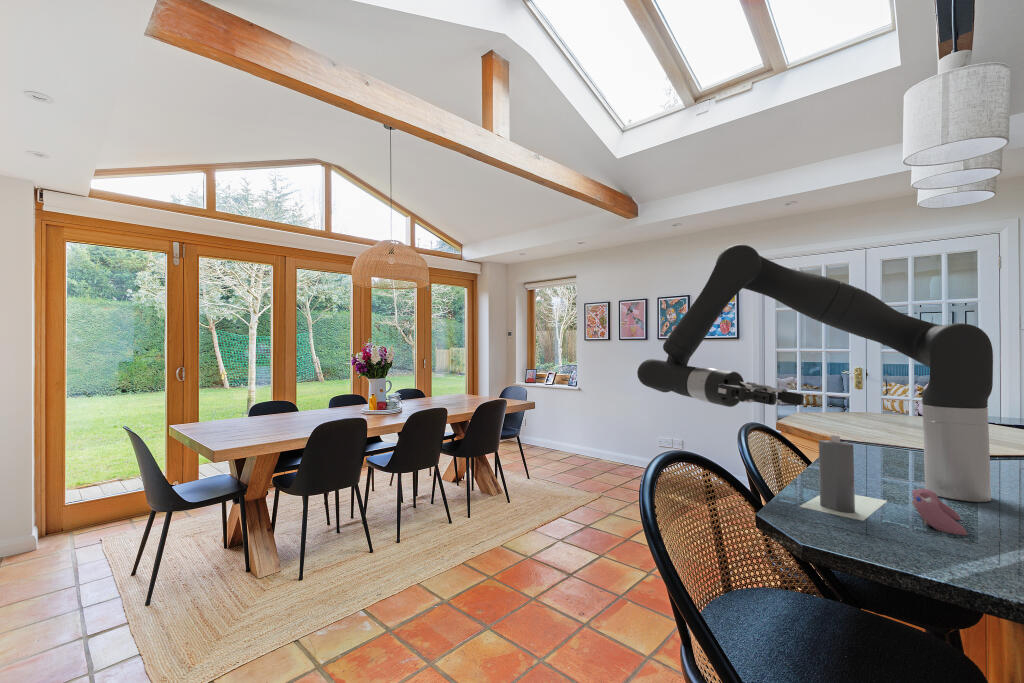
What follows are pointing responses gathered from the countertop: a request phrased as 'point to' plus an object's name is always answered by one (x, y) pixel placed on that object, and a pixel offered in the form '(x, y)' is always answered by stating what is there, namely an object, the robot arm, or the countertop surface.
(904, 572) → the countertop surface
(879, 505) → the mat
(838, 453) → the candle
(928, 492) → the video game controller
